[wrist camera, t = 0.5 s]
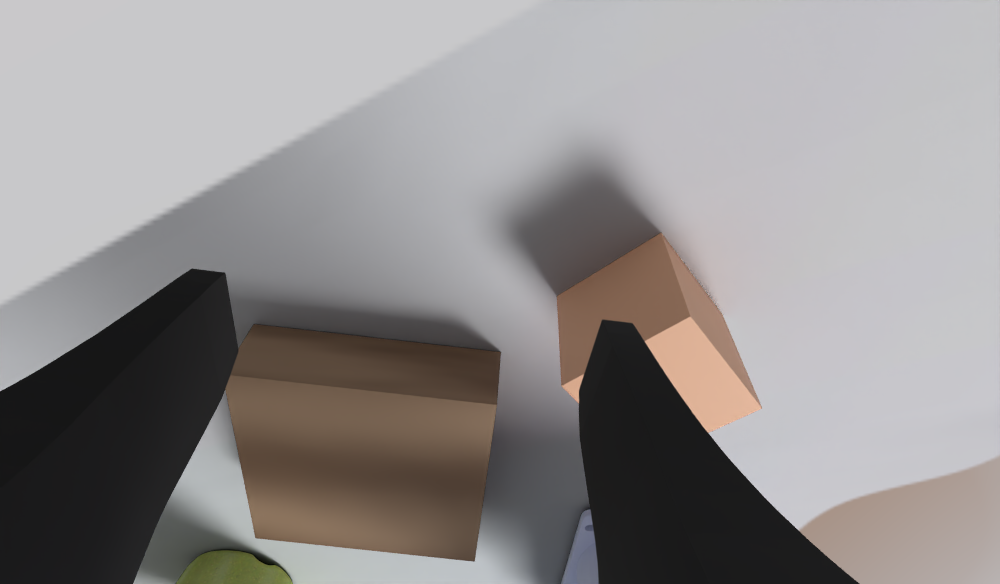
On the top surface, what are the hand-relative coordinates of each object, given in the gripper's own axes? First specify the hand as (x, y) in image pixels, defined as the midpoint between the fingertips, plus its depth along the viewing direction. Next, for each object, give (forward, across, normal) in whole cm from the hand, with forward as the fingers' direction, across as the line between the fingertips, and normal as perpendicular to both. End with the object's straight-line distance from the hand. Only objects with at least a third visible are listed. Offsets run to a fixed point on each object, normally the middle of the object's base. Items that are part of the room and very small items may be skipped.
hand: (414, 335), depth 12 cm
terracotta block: (+9, -8, +6) cm, 13 cm away
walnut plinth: (+9, +2, +14) cm, 17 cm away
